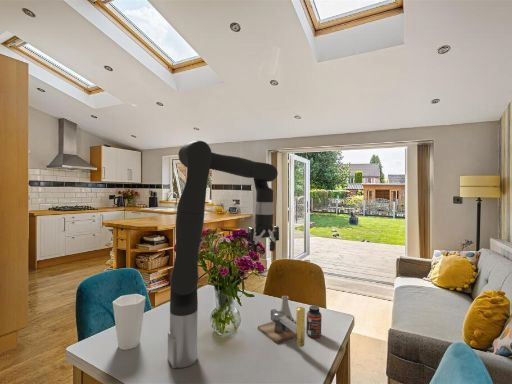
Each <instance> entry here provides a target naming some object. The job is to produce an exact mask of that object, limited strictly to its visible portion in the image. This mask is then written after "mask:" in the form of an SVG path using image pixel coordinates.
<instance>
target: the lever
mask: <svg viewBox="0 0 512 384" xmlns="http://www.w3.org/2000/svg"><path fill="white" fill-rule="evenodd" d="M305 309H306V308H304V307H302V306H298V307H296V319H295V320H296V322H294V321H293V320H292V321H291V320H290V319H288V318H287V317H285V313H284V312H281V311H280V310H277V309H275V308H273V309H270V321H271V322H272V321H273V322H275V321H280V322H281V323H282V324H284V325H285V326H286V327H288V328H289V329H290V330H292V331H293V332H294V333H296V337H295V345H296V346H297V347H299V348H304V346H305V326H306V325H305V323H306V310H305Z"/></svg>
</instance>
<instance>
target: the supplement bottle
mask: <svg viewBox="0 0 512 384" xmlns="http://www.w3.org/2000/svg"><path fill="white" fill-rule="evenodd" d="M322 316H323V315H322V312H320V307H319V306H317V305H315V304H314V305H309V309H308V311H307V312H306V335H307V336H308V337H309V338H311V339H312V338H313V339H318V338H321V336H322Z"/></svg>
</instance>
